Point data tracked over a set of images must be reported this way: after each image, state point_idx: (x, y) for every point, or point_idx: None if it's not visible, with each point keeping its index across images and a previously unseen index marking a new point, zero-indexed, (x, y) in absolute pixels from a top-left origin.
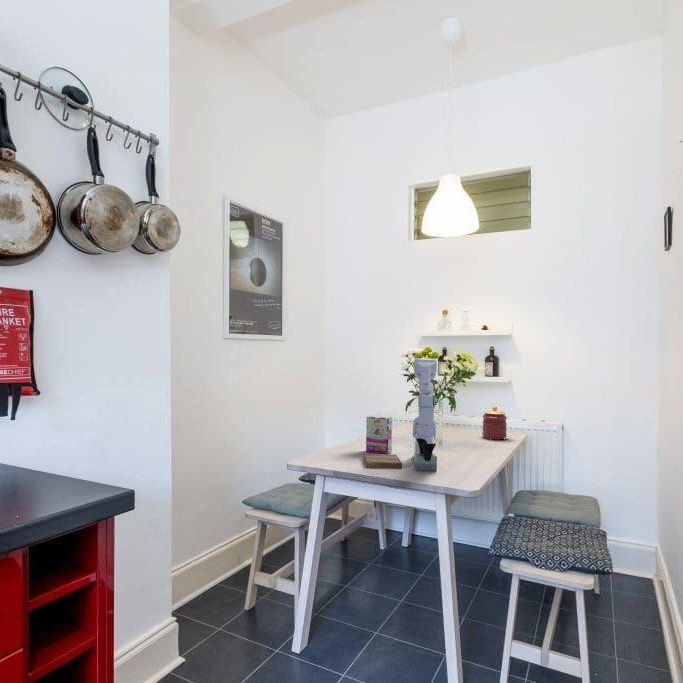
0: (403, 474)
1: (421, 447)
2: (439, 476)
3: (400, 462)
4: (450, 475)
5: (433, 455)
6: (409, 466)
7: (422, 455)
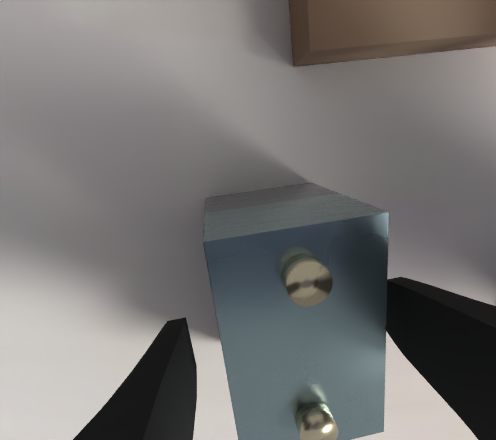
0: (39, 63)
1: (492, 357)
2: (81, 360)
3: (339, 32)
4: None
5: (289, 431)
6: (364, 145)
7: (265, 317)
